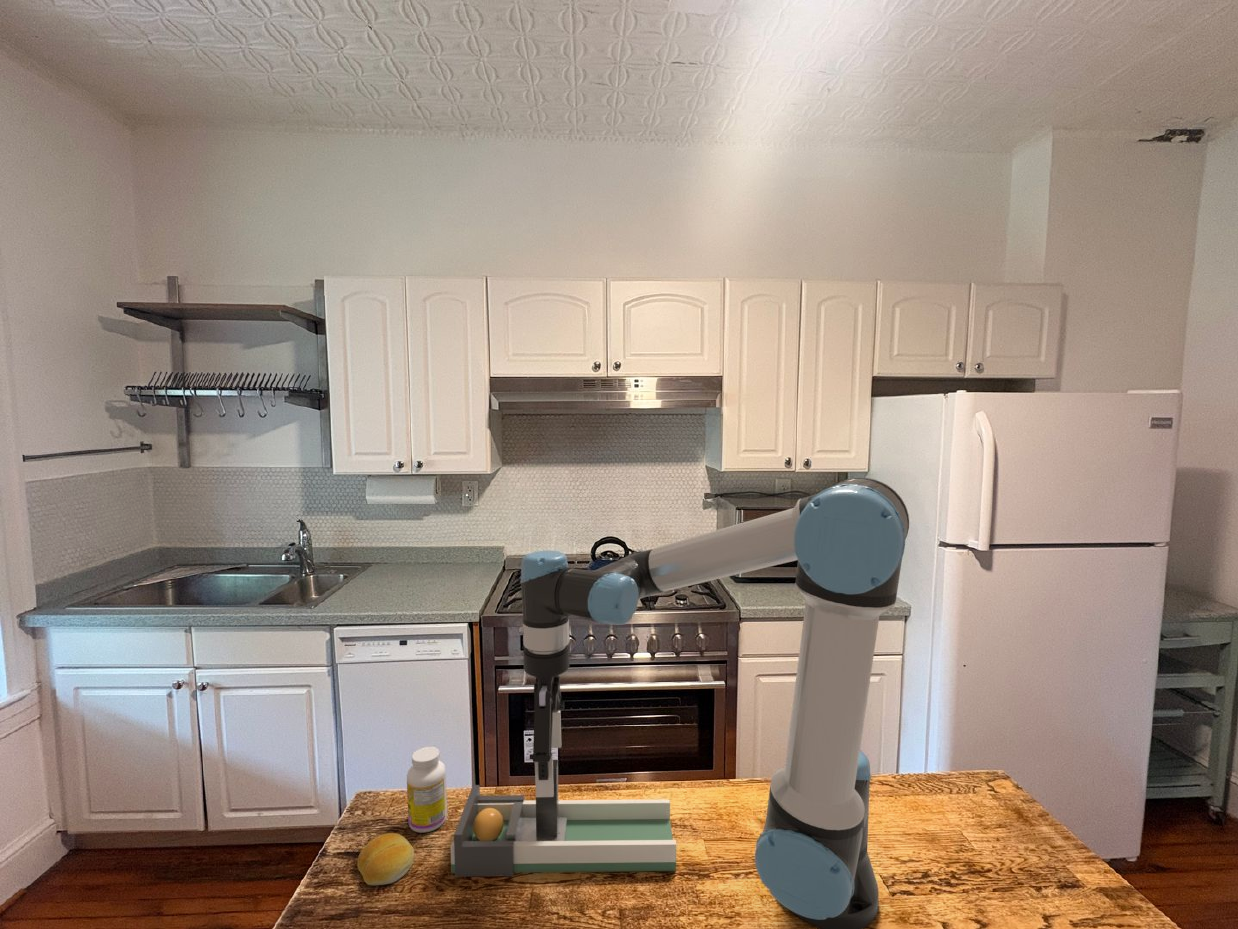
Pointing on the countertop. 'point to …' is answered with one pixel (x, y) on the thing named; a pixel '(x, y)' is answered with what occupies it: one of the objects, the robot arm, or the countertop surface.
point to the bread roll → (385, 859)
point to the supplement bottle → (426, 791)
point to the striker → (539, 819)
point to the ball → (488, 825)
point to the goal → (482, 842)
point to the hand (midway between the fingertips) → (549, 769)
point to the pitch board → (596, 837)
